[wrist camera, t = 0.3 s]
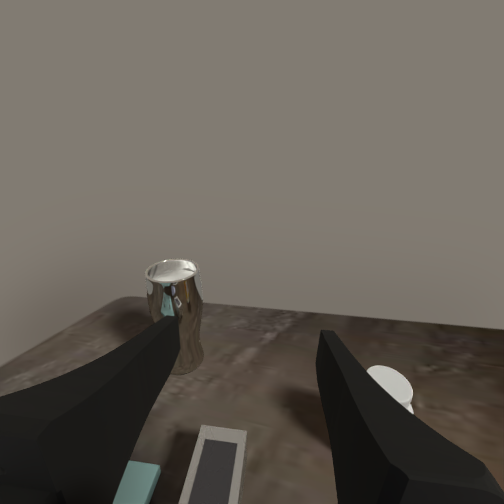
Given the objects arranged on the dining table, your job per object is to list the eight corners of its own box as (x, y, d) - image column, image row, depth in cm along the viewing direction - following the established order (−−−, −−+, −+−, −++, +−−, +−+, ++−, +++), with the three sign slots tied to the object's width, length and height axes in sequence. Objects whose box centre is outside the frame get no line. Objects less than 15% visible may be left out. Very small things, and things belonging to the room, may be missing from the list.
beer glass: (175, 387, 33) (161, 290, 27) (150, 358, 38) (133, 269, 32) (216, 357, 38) (211, 269, 32) (189, 335, 42) (181, 253, 36)
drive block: (231, 587, 18) (230, 557, 16) (174, 576, 19) (166, 545, 17) (246, 461, 26) (247, 430, 24) (204, 455, 26) (201, 424, 24)
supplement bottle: (394, 489, 24) (424, 422, 20) (336, 456, 26) (353, 391, 22) (396, 436, 28) (421, 373, 24) (346, 412, 31) (361, 351, 27)
